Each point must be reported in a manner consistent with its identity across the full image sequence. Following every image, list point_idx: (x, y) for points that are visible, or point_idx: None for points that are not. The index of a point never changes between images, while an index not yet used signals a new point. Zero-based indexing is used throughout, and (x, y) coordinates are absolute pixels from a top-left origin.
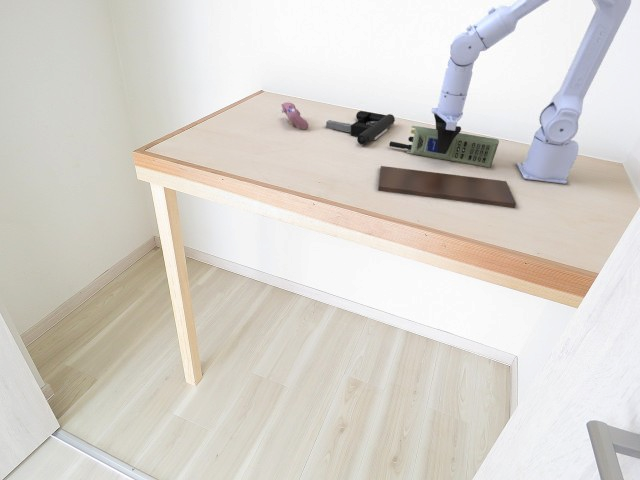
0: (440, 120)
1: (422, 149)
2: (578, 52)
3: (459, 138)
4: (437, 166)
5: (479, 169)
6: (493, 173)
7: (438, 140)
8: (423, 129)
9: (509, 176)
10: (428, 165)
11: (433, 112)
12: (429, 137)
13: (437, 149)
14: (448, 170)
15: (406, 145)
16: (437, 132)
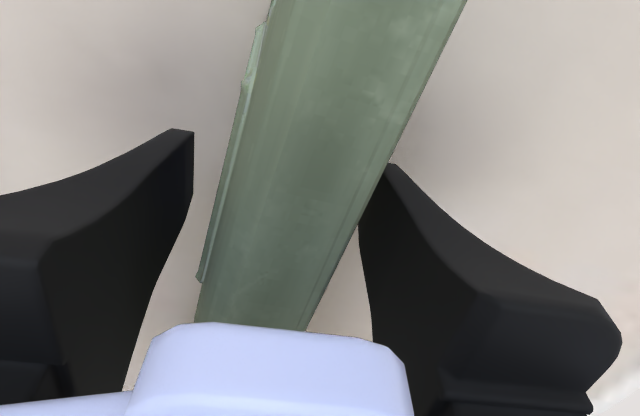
0: (427, 324)
1: (270, 7)
2: None
3: None
4: (117, 94)
5: (163, 310)
6: (137, 348)
7: (88, 172)
8: (310, 37)
9: (129, 388)
10: (109, 23)
11: (147, 366)
12: (240, 97)
13: (157, 136)
14: (78, 155)
15: None
16: (244, 209)
